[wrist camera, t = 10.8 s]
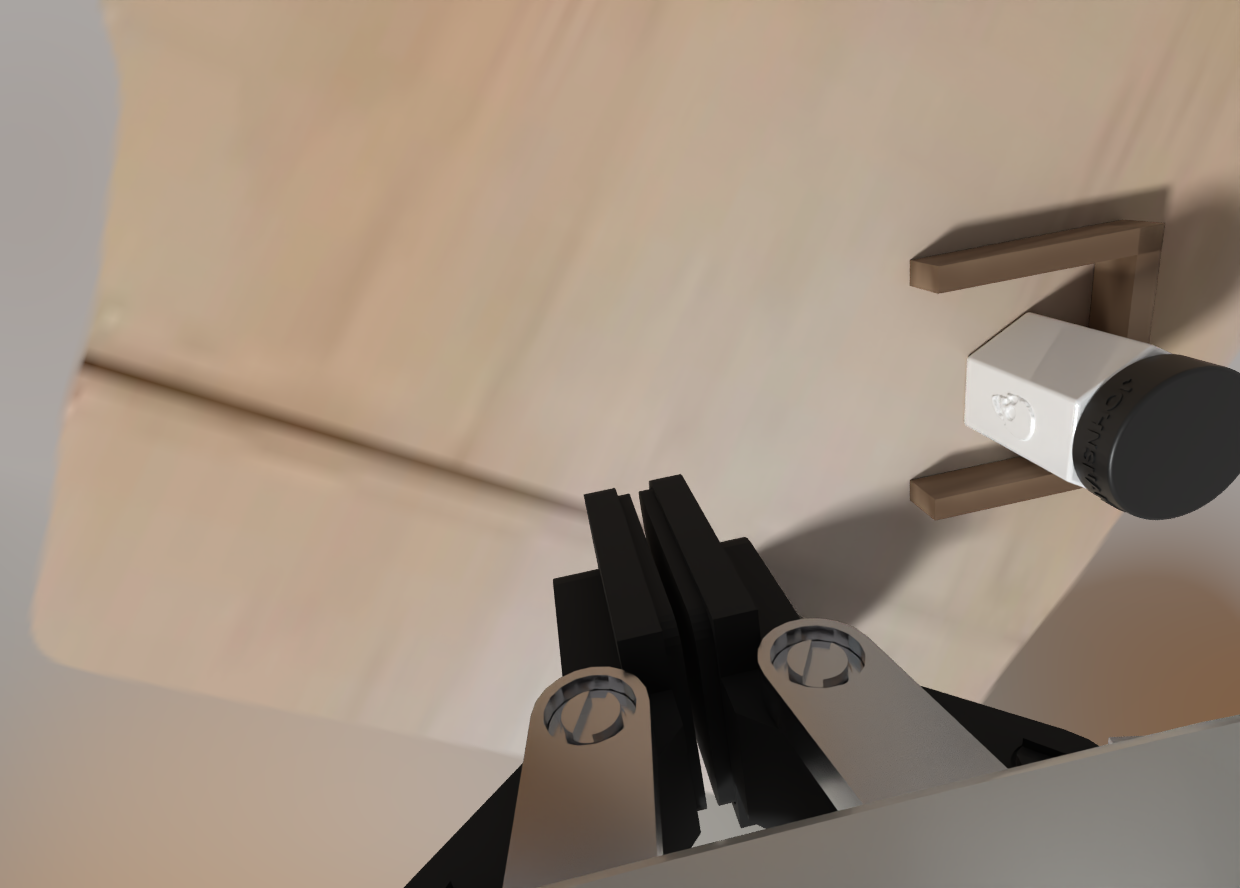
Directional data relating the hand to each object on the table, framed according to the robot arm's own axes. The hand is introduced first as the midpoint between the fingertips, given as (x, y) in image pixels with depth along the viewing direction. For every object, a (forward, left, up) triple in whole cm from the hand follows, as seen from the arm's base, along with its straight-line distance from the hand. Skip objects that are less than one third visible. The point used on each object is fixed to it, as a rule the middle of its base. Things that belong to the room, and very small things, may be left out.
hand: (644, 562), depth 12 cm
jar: (+11, +28, -29) cm, 42 cm away
